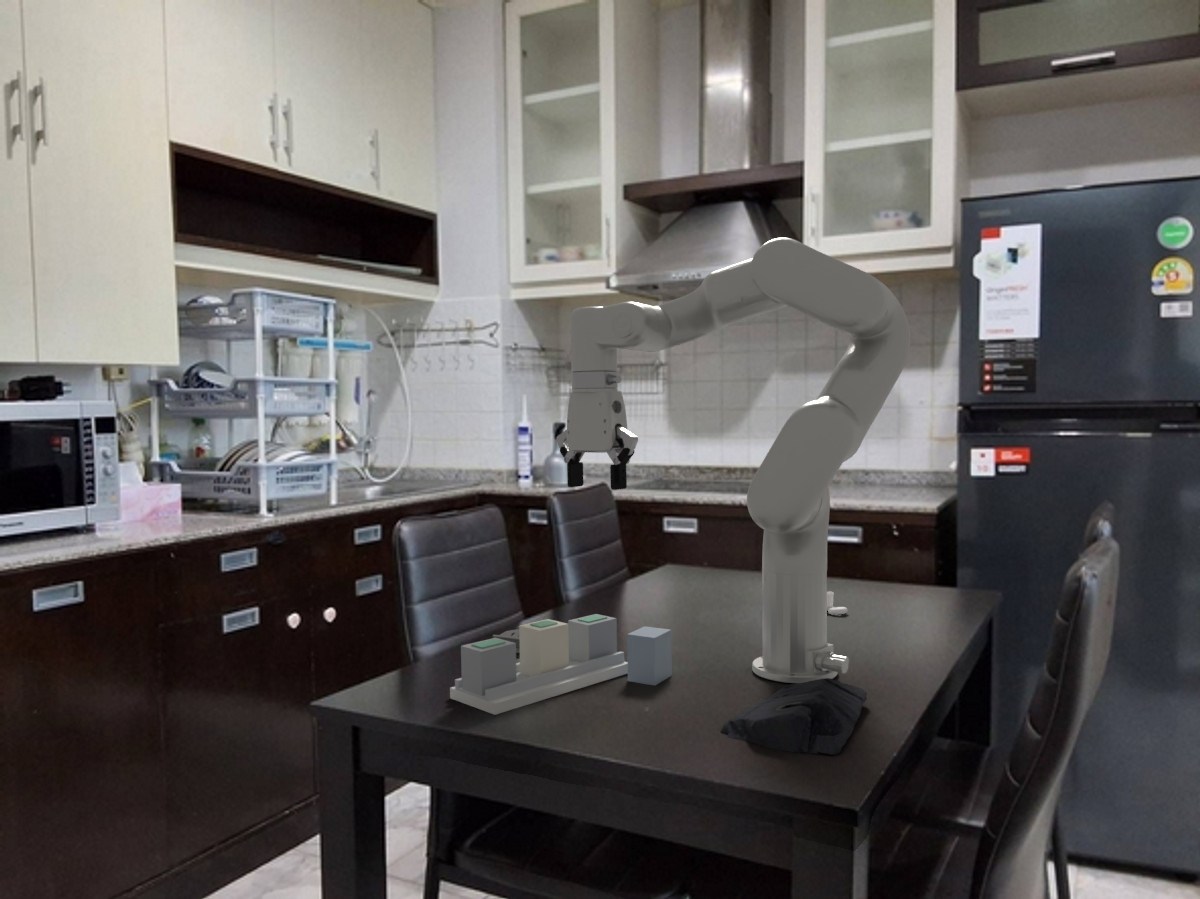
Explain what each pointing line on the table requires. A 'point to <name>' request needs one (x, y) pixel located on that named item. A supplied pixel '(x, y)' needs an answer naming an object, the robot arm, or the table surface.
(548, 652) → the block
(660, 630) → the block
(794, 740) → the black folded cloth
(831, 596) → the white rounded block
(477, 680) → the mounted module
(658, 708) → the table surface
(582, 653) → the mounted module
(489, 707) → the rail base
